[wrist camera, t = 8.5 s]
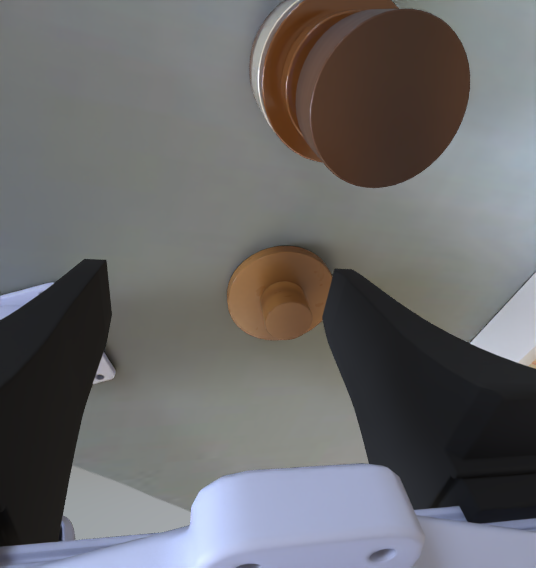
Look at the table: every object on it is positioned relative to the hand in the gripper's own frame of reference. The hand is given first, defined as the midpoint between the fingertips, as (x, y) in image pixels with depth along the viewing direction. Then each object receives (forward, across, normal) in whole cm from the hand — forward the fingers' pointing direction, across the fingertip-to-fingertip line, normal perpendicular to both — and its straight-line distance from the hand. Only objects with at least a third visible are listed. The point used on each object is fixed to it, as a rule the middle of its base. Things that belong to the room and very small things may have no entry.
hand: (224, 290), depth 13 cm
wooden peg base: (+10, -5, +7) cm, 13 cm away
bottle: (+10, -4, -6) cm, 12 cm away
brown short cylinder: (+3, -4, -6) cm, 8 cm away
